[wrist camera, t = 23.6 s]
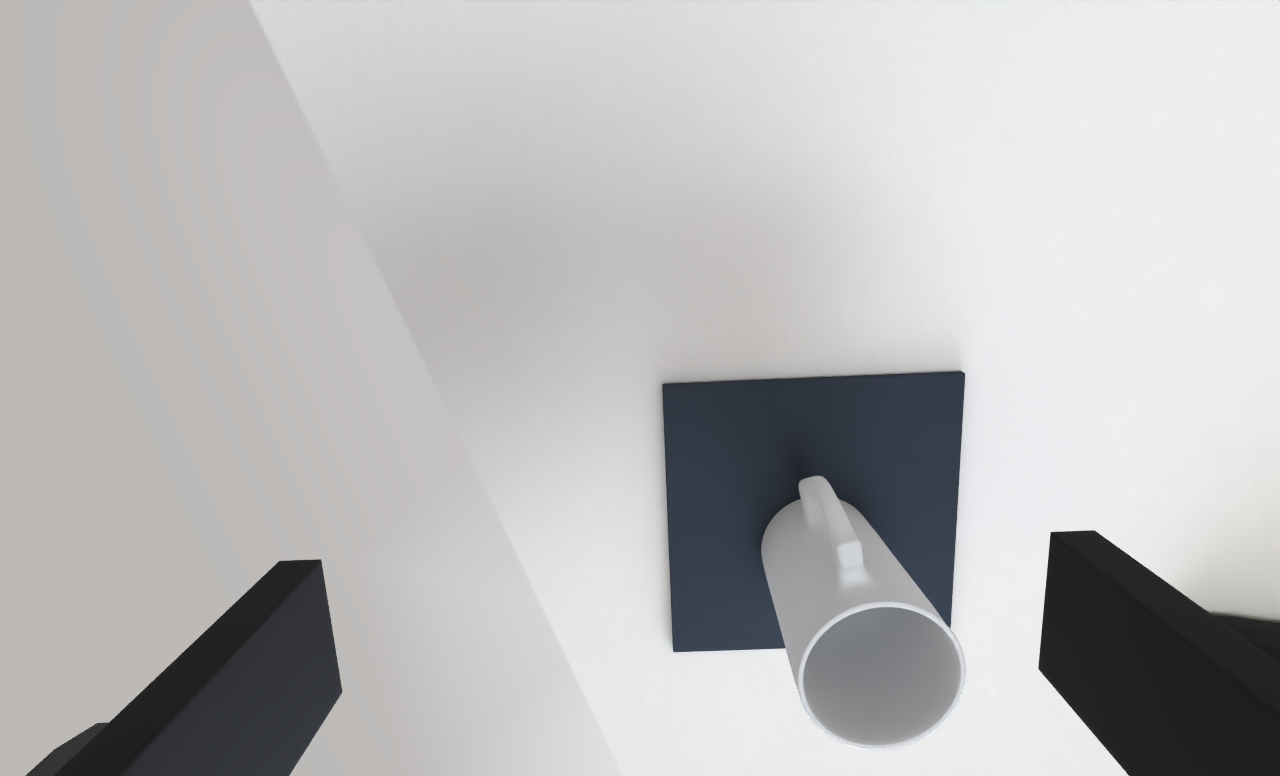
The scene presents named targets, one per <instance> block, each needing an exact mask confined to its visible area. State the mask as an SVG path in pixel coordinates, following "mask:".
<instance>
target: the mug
mask: <svg viewBox="0 0 1280 776" xmlns="http://www.w3.org/2000/svg"><path fill="white" fill-rule="evenodd" d="M799 493H800V497H801V499H799V500H796V501H794V502H792V503H790V504H788V505H787V506H785V507H784V508H782V509H781V510H780V511H779V512H778V513H777V514H776V515H775V516H774V517H773V518H772V520H771V521H770V523H769V524H768V526H767V528H766V530H765V533H764V536H763V540H762V546H761V554H762V561H763V565H764V570H765V574H766V578H767V582H768V586H769V589H770V593H771V596H772V600H773V603H774V607H775V610H776V614H777V618H778V621H779V625H780V629H781V632H782V636H783V640H784V643H785V647H786V651H787V655H788V658H789V662H790V666H791V669H792V673H793V676H794V680H795V683H796V686H797V689H798V692H799V695H800V699H801V702H802V704H803V707H804V709H805V711H806V712H807V714H808V716H809V717H810V719H811V720H812V721H813V722H814V724H815V725H816V726H817V727H818V728H819V729H820V730H822V731H823V732H824V733H825V734H827V735H828V736H830V737H831V738H833V739H835V740H837V741H839V742H841V743H843V744H846V745H848V746H852V747H856V748H860V749H867V750H888V749H895V748H900V747H903V746H906V745H909V744H912V743H914V742H916V741H918V740H920V739H922V738H924V737H926V736H927V735H929V734H930V733H932V732H933V731H934V730H936V729H937V728H938V727H939V726H940V725H941V724H942V723H943V722H944V721H945V720H946V719H947V718H948V717H949V716H950V714H951V713H952V712H953V710H954V709H955V707H956V705H957V703H958V701H959V699H960V697H961V694H962V692H963V688H964V684H965V677H966V665H965V658H964V654H963V651H962V648H961V646H960V643H959V641H958V639H957V638H956V636H955V635H954V633H953V632H952V630H951V629H950V628H949V627H948V626H947V625H946V623H945V622H944V621H943V619H942V618H941V616H940V615H939V613H938V612H937V611H936V609H935V608H934V607H933V605H932V604H931V603H930V602H929V600H928V599H927V598H926V596H925V595H924V594H923V592H922V591H921V590H920V589H919V587H918V586H917V585H916V583H915V582H914V581H913V580H912V578H911V577H910V576H909V574H908V573H907V572H906V571H905V569H904V568H903V567H902V565H901V564H900V563H899V562H898V560H897V559H896V558H895V556H894V555H893V554H892V553H891V551H890V550H889V549H888V547H887V546H886V545H885V543H884V542H883V541H882V539H881V538H880V537H879V535H878V534H877V533H876V532H875V530H874V529H873V528H872V527H871V525H870V524H869V523H868V522H867V520H866V519H865V518H864V516H863V515H862V514H861V513H860V512H859V511H858V510H857V509H856V508H854V507H853V506H852V505H850V504H848V503H847V502H845V501H842V500H840V499H838V498H837V496H836V494H835V492H834V491H833V489H832V487H831V486H830V484H829V483H828V481H827V480H826V479H825V478H824V477H822V476H813V477H809V478H805V479H803V480H801V481H800V482H799Z"/></svg>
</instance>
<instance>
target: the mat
mask: <svg viewBox="0 0 1280 776" xmlns="http://www.w3.org/2000/svg"><path fill="white" fill-rule="evenodd" d="M964 384H965V373H963V372H961V371H959V372H935V373H912V374H888V375H864V376H841V377H817V378H794V379H770V380H747V381H723V382H699V383H676V384H663V410H664V435H665V460H666V484H667V509H668V534H669V559H670V584H671V609H672V633H673V651H674V652H692V651H721V650H750V649H779V648H786V647H785V643H784V640H783V636H782V632H781V629H780V625H779V621H778V618H777V614H776V610H775V607H774V603H773V600H772V596H771V593H770V589H769V586H768V582H767V578H766V574H765V570H764V565H763V561H762V554H761V546H762V540H763V536H764V533H765V530H766V528H767V526H768V524H769V523H770V521H771V520H772V518H773V517H774V516H775V515H776V514H777V513H778V512H779V511H780V510H781V509H782V508H784V507H785V506H787V505H788V504H790V503H792V502H794V501H796V500H799V499H801V497H800V493H799V482H800V481H801V480H803V479H805V478H809V477H813V476H822V477H824V478H825V479H826V480H827V481H828V483H829V484H830V486H831V487H832V489H833V491H834V492H835V494H836V496H837V498H838V499H840V500H842V501H845V502H847V503H848V504H850V505H852V506H853V507H854V508H856V509H857V510H858V511H859V512H860V513H861V514H862V515H863V516H864V518H865V519H866V520H867V522H868V523H869V524H870V525H871V527H872V528H873V529H874V530H875V532H876V533H877V534H878V535H879V537H880V538H881V539H882V541H883V542H884V543H885V545H886V546H887V547H888V549H889V550H890V551H891V553H892V554H893V555H894V556H895V558H896V559H897V560H898V562H899V563H900V564H901V565H902V567H903V568H904V569H905V571H906V572H907V573H908V574H909V576H910V577H911V578H912V580H913V581H914V582H915V583H916V585H917V586H918V587H919V589H920V590H921V591H922V592H923V594H924V595H925V596H926V598H927V599H928V600H929V602H930V603H931V604H932V605H933V607H934V608H935V609H936V611H937V612H938V613H939V615H940V616H941V618H942V619H943V621H944V622H945V623H946V625H947V626H948V627H949V628H950V626H951V608H952V591H953V574H954V556H955V539H956V522H957V505H958V487H959V470H960V453H961V436H962V418H963V401H964Z"/></svg>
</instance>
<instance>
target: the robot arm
mask: <svg viewBox="0 0 1280 776" xmlns="http://www.w3.org/2000/svg"><path fill="white" fill-rule="evenodd" d="M1038 669H1039V670H1040V671H1041V672H1042V674H1043V675H1044V676H1045V677H1046V678H1047V680H1048V681H1049V682H1050V683H1051V684H1052V685H1053V687H1054V688H1055V689H1056V690H1057V691H1058V692H1059V694H1060V695H1061V696H1062V697H1063V698H1064V700H1065V701H1066V702H1067V703H1068V704H1069V705H1070V707H1071V708H1072V709H1073V710H1074V711H1075V712H1076V714H1077V715H1078V716H1079V717H1080V718H1081V720H1082V721H1083V722H1084V723H1085V724H1086V725H1087V727H1088V728H1089V729H1090V730H1091V731H1092V733H1093V734H1094V735H1095V736H1096V737H1097V738H1098V740H1099V741H1100V742H1101V743H1102V744H1103V745H1104V747H1105V748H1106V749H1107V750H1108V751H1109V753H1110V754H1111V755H1112V756H1113V757H1114V758H1115V760H1116V761H1117V762H1118V763H1119V764H1120V765H1121V767H1122V768H1123V769H1124V770H1125V771H1126V773H1127V774H1128V775H1129V776H1280V664H1279V663H1278V662H1277V661H1275V660H1274V659H1272V658H1271V657H1270V656H1268V655H1267V654H1266V653H1264V652H1263V651H1261V650H1260V649H1259V648H1257V647H1256V646H1254V645H1253V644H1252V643H1250V642H1249V641H1247V640H1246V639H1245V638H1243V637H1242V636H1240V635H1239V634H1238V633H1236V632H1235V631H1234V630H1232V629H1231V628H1229V627H1228V626H1227V625H1225V624H1224V623H1222V622H1221V621H1220V620H1218V619H1217V618H1215V617H1214V616H1213V615H1211V614H1210V613H1208V612H1207V611H1206V610H1204V609H1203V608H1202V607H1200V606H1199V605H1197V604H1196V603H1195V602H1193V601H1192V600H1190V599H1189V598H1188V597H1186V596H1185V595H1183V594H1182V593H1181V592H1179V591H1178V590H1176V589H1175V588H1174V587H1172V586H1171V585H1170V584H1168V583H1167V582H1165V581H1164V580H1163V579H1161V578H1160V577H1158V576H1157V575H1156V574H1154V573H1153V572H1151V571H1150V570H1149V569H1147V568H1146V567H1144V566H1143V565H1142V564H1140V563H1139V562H1138V561H1136V560H1135V559H1133V558H1132V557H1131V556H1129V555H1128V554H1126V553H1125V552H1124V551H1122V550H1121V549H1119V548H1118V547H1117V546H1115V545H1114V544H1112V543H1111V542H1110V541H1108V540H1107V539H1106V538H1104V537H1103V536H1101V535H1100V534H1099V533H1097V532H1096V531H1067V532H1051V535H1050V546H1049V557H1048V568H1047V580H1046V591H1045V602H1044V613H1043V624H1042V635H1041V646H1040V657H1039V668H1038ZM341 693H342V687H341V681H340V675H339V668H338V663H337V656H336V650H335V643H334V637H333V631H332V625H331V618H330V612H329V606H328V600H327V594H326V587H325V582H324V575H323V569H322V562H321V560H294V561H279V562H278V563H277V564H276V565H275V566H274V567H273V568H272V569H271V570H269V571H268V572H267V574H265V575H264V576H263V577H262V578H261V579H260V580H259V581H258V582H257V583H256V584H255V585H254V586H253V587H252V588H251V589H250V590H248V591H247V592H246V593H245V594H244V595H243V596H242V597H241V598H240V599H239V600H238V601H237V602H236V603H235V604H234V605H233V606H232V607H230V608H229V609H228V610H227V611H226V612H225V613H224V614H223V615H222V616H221V617H220V618H219V619H218V620H217V621H216V622H215V623H214V624H213V625H212V626H211V627H210V628H208V629H207V630H206V631H205V632H204V633H203V634H202V635H201V636H200V637H199V638H198V639H197V640H196V641H195V642H194V643H193V644H192V645H191V646H189V648H187V649H186V650H185V651H184V652H183V653H182V654H181V655H180V656H179V657H178V658H177V659H176V660H175V661H174V662H173V663H172V664H171V665H169V666H168V667H167V668H166V669H165V670H164V671H163V672H162V673H161V674H160V675H159V676H158V677H157V678H156V679H155V680H154V681H153V682H151V683H150V684H149V685H148V686H147V687H146V688H145V689H144V690H143V691H142V692H141V693H140V694H139V695H138V696H137V697H136V698H135V699H134V700H133V701H132V702H130V703H129V704H128V705H127V706H126V707H125V708H124V709H123V710H122V711H121V712H120V713H119V714H118V715H117V716H116V717H115V718H114V719H112V720H111V721H110V722H109V723H97V724H95V725H94V726H92V727H90V728H89V729H87V730H85V731H84V732H82V733H80V734H79V735H77V736H76V737H74V738H72V739H71V740H69V741H67V742H66V743H64V744H63V745H61V746H59V747H58V748H56V749H54V750H53V752H51V753H50V754H49V755H48V756H47V757H46V758H45V759H43V760H42V761H41V762H40V763H39V764H38V765H37V766H36V767H35V768H34V769H32V770H31V771H30V772H29V773H28V774H27V775H26V776H289V775H290V774H291V772H292V770H293V769H294V767H295V766H296V764H297V763H298V761H299V759H300V758H301V756H302V755H303V753H304V752H305V750H306V748H307V747H308V745H309V744H310V742H311V741H312V739H313V737H314V736H315V734H316V732H317V731H318V730H319V728H320V726H321V725H322V723H323V721H324V720H325V719H326V717H327V715H328V714H329V712H330V711H331V709H332V707H333V706H334V704H335V703H336V701H337V700H338V698H339V697H340V695H341Z"/></svg>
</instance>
